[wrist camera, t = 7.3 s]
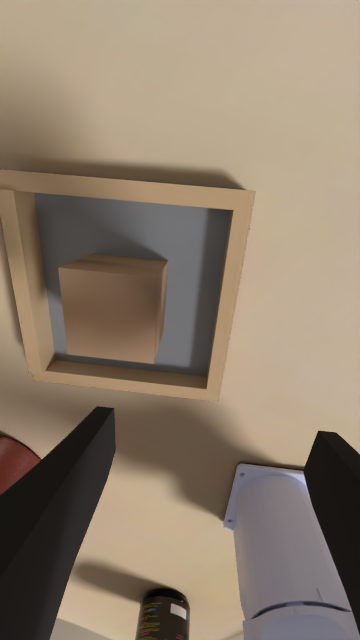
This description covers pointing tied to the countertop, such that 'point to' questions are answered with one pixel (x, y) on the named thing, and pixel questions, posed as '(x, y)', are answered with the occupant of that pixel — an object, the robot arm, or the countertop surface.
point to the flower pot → (14, 462)
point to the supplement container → (163, 616)
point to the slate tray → (129, 241)
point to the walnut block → (114, 306)
